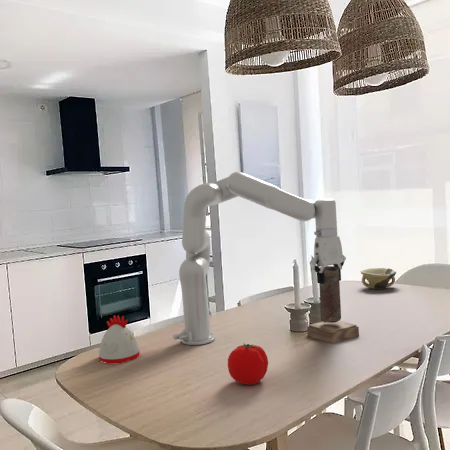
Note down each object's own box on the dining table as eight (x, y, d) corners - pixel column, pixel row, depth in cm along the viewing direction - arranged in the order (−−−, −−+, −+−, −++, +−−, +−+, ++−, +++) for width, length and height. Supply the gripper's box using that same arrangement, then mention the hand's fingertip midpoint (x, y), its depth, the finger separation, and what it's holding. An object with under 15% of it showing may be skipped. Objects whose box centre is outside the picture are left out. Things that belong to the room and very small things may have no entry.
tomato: (239, 392, 134) (236, 352, 133) (222, 379, 144) (219, 342, 144) (277, 383, 139) (274, 344, 138) (258, 371, 149) (256, 335, 148)
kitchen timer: (126, 365, 164) (122, 320, 163) (91, 363, 169) (87, 320, 168) (146, 351, 177) (143, 310, 176) (114, 350, 182) (110, 310, 181)
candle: (340, 318, 182) (337, 265, 181) (343, 323, 175) (340, 268, 174) (319, 319, 183) (316, 266, 182) (321, 324, 176) (318, 269, 174)
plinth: (331, 343, 170) (330, 332, 170) (307, 335, 182) (306, 324, 182) (359, 335, 177) (358, 324, 177) (334, 328, 188) (333, 318, 188)
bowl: (363, 292, 248) (362, 273, 247) (359, 285, 265) (358, 268, 265) (399, 291, 245) (398, 272, 244) (393, 284, 262) (392, 266, 262)
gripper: (314, 236, 170) (317, 286, 171) (351, 231, 178) (354, 279, 179) (301, 235, 176) (303, 284, 177) (337, 230, 185) (340, 277, 186)
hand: (329, 281), depth 178 cm, fingers closed on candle, 7 cm apart
